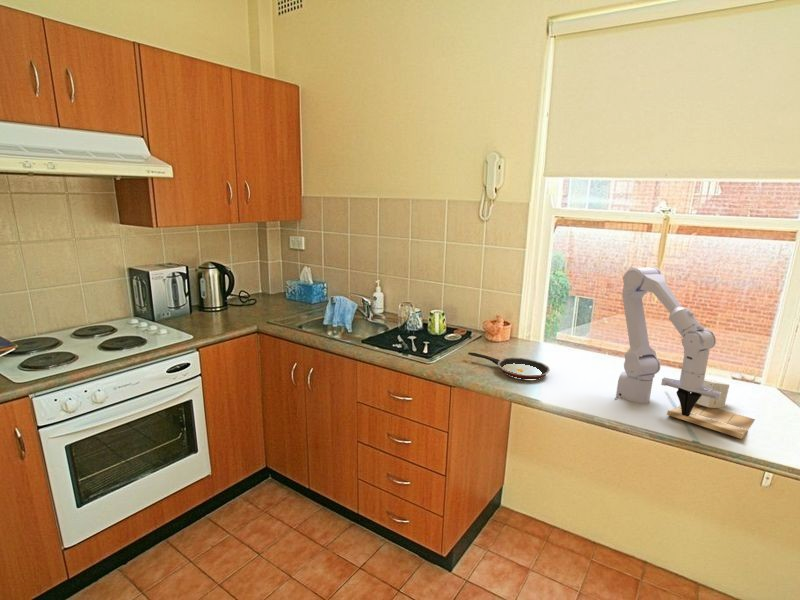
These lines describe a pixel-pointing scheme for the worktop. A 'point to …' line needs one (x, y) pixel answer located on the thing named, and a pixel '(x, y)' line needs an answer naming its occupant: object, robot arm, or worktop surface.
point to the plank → (709, 423)
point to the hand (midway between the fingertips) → (685, 414)
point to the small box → (711, 401)
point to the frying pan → (501, 363)
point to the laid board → (723, 416)
